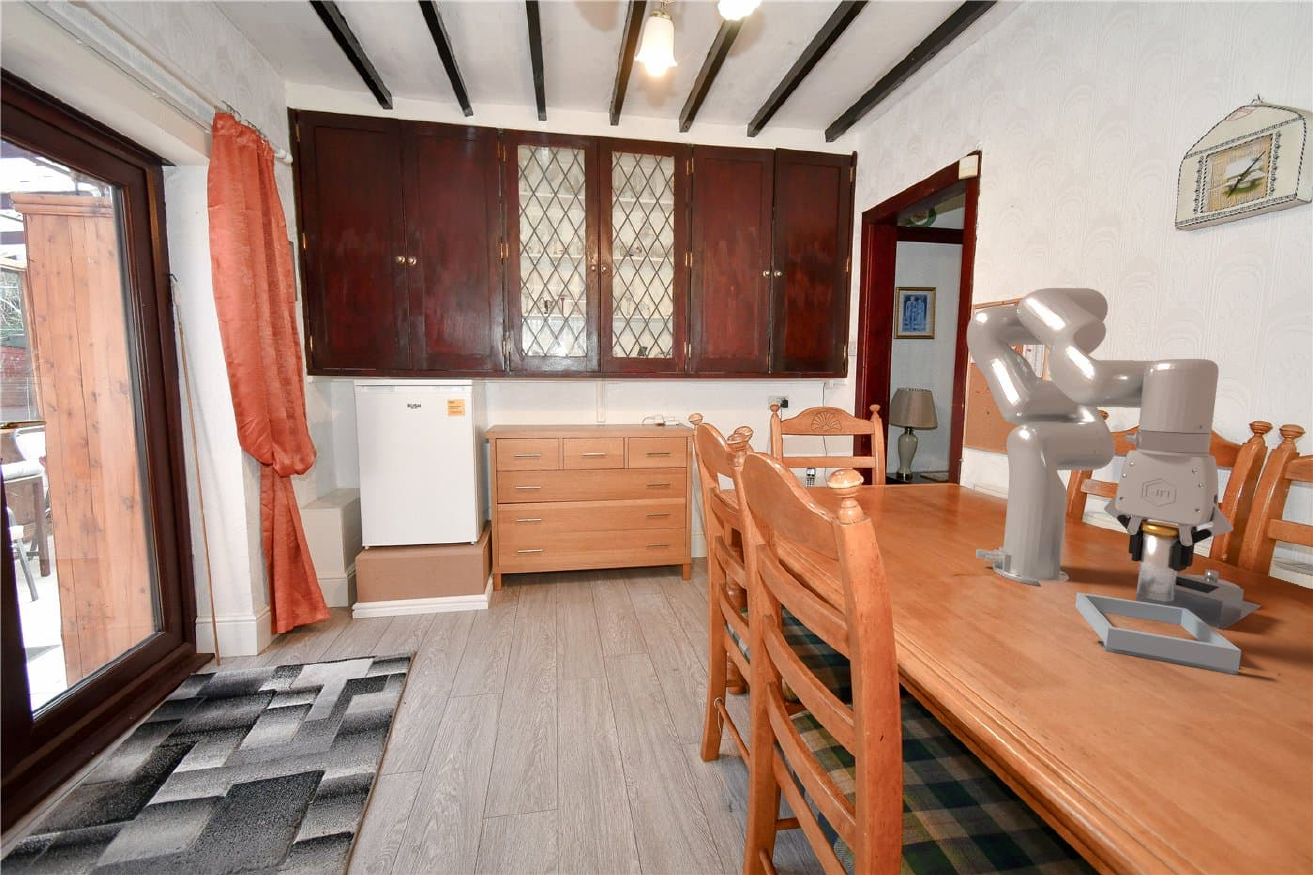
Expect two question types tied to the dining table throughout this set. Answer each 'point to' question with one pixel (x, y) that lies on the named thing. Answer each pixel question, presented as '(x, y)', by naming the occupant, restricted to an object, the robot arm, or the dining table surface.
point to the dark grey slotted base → (1209, 599)
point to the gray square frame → (1200, 654)
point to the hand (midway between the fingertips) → (1158, 563)
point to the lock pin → (1158, 561)
